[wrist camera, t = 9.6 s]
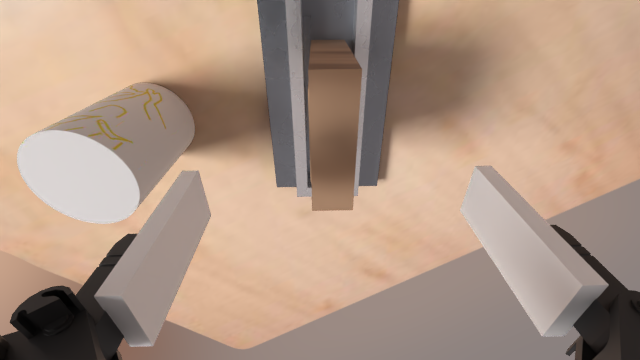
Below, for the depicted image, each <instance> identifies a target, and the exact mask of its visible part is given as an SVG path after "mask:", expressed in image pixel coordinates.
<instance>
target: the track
mask: <svg viewBox="0 0 640 360" xmlns="http://www.w3.org/2000/svg"><path fill="white" fill-rule="evenodd" d="M257 4H258V14H259V23H260V32H261V42H262V51H263V60H264V70H265V79H266V89H267V98H268V107H269V117H270V126H271V136H272V145H273V154H274V164H275V173H276V183H277V187H297V197H302V196H312V184H311V177H310V143H309V110H308V82H309V77H308V67H309V57H310V46H311V40H345V42H346V43H347V45H348V47H349V48H350V50H351V51H352V53H353V55H354V56H355V58H356V60H357V61H358V63H359V64H360V66H361V68H362V80H361V95H360V110H359V124H358V139H357V154H356V168H355V183H354V196H358V186H377V180H378V172H379V163H380V155H381V146H382V138H383V130H384V121H385V113H386V104H387V96H388V88H389V79H390V71H391V62H392V54H393V46H394V37H395V29H396V20H397V12H398V4H399V0H257Z"/></svg>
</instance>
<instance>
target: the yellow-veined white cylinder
mask: <svg viewBox="0 0 640 360" xmlns="http://www.w3.org/2000/svg"><path fill="white" fill-rule="evenodd" d="M194 134H195V124H194V119H193V116H192V114H191V112H190V110H189V108H188V107H187V105H186V104H185V103H184V102H183V101H182V100H181V99H180V98H179V97H178V96H177V95H176V94H174V93H173V92H172V91H170V90H168V89H166V88H164V87H162V86H159V85H156V84H152V83H137V84H133V85H130V86H128V87H126V88H124V89H122V90H120V91H118V92H116V93H114V94H112V95H110V96H108V97H106V98H104V99H102V100H100V101H98V102H96V103H94V104H92V105H90V106H88V107H86V108H84V109H82V110H80V111H78V112H76V113H74V114H72V115H70V116H68V117H67V118H65V119H63V120H61V121H59V122H57V123H55V124H53V125H51V126H49V127H47V128H45V129H43V130H41V131H39V132H37V133H35V134H33V135H31V136H29V137H28V138H26V139H25V140H24V141H23V142H22V144H21V145H20V147H19V150H18V153H17V163H18V168H19V171H20V173H21V176H22V178H23V179H24V181H25V183H26V184H27V185H28V187H29V188H30V189H31V190H32V191H33V192H34V194H36V195H37V196H38V197H39V198H40V199H41V200H42V201H43V202H45V203H46V204H47V205H49V206H50V207H52V208H53V209H55V210H57V211H59V212H61V213H63V214H65V215H67V216H69V217H72V218H74V219H78V220H81V221H85V222H90V223H99V224H107V223H115V222H119V221H121V220H124V219H126V218H128V217H129V216H130V215H131V214H133V212H134V211H135V210H136V209H137V208H138V206H139V205H140V204H141V203H142V202H143V200H144V199H145V198H146V197H147V196H148V194H149V193H150V192H151V191H152V190H153V188H154V187H155V186H156V185H157V184H158V182H159V181H160V180H161V179H162V177H163V176H164V175H165V174H166V173H167V171H168V170H169V169H170V168H171V167H172V165H173V164H174V163H175V162H176V161H177V159H178V158H179V157H180V156H181V155H182V153H183V152H184V151H185V150H186V148H187V147H188V146H189V145H190V144H191V142H192V140H193V138H194Z"/></svg>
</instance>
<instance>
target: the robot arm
mask: <svg viewBox="0 0 640 360" xmlns="http://www.w3.org/2000/svg"><path fill="white" fill-rule="evenodd" d="M460 211H461V213H462V214H463V216H464V217H465V219H466V220H467V222H468V224H469V225H470V227H471V228H472V230H473V231H474V233H475V234H476V236H477V237H478V239H479V240H480V242H481V243H482V245H483V246H484V248H485V249H486V251H487V253H488V254H489V256H490V257H491V259H492V260H493V262H494V263H495V265H496V266H497V268H498V269H499V271H500V272H501V274H502V276H503V277H504V279H505V280H506V282H507V283H508V285H509V286H510V288H511V289H512V291H513V292H514V294H515V295H516V297H517V298H518V300H519V302H520V303H521V305H522V306H523V308H524V309H525V311H526V312H527V314H528V315H529V317H530V318H531V320H532V321H533V323H534V325H535V326H536V328H537V329H538V331H539V332H540V334H541V335H542V336H565V335H566V334H567V333H568V331H569V330H570V329H571V328H572V327H573V326H574V327H575V328H576V330H577V331H578V332H579V333H580V337H579V338H578V339H577V340H576V341H575V342H574V343H573V344H572V345H571V346H570V347H569V348H568V350H567V352H566V354H567V355H569V356H570V355H571V354H572V353H573V352H574V351H576V353H575V360H640V292H637V291H630V290H628V289H627V288H625V286H624V285H622V284H621V283H620V282H619V281H618V280H617V279H616V278H615V277H614V276H613V275H612V274H611V273H610V272H609V271H608V270H607V269H606V268H605V267H604V266H603V265H602V264H601V263H600V262H599V261H598V260H597V259H596V258H595V257H593V256H591V255H590V253H589V252H588V251H587V250H586V249H585V248H584V247H582V246H581V244H580V243H579V242H578V241H577V240H576V239H575V238H574V237H573V236H572V235H571V234H569V233H568V232H566V231H565V230H563V229H561V228H560V227H558V226H556V225H549V224H548V223H547V222H546V221H545V220H544V219H543V218H542V217H541V216H540V215H539V214H538V213H537V212H536V211H535V210H534V209H533V208H532V207H531V206H530V205H529V204H528V203H527V202H526V201H525V199H524V198H523V197H522V196H521V195H520V194H519V193H518V192H517V191H516V190H515V189H514V188H513V187H512V186H511V185H510V184H509V183H508V182H507V181H506V180H505V179H504V178H503V177H502V176H501V175H500V174H499V173H498V172H497V171H496V170H495V169H494V168H493V167H492V166H475V168H474V171H473V174H472V177H471V180H470V183H469V186H468V189H467V192H466V195H465V198H464V201H463V203H462V206H461V209H460ZM210 217H211V213H210V209H209V206H208V202H207V199H206V195H205V192H204V188H203V185H202V181H201V178H200V174H199V171H182V172H181V173H180V175H179V176H178V178H177V179H176V180H175V182H174V183H173V185H172V186H171V187H170V189H169V190H168V192H167V193H166V195H165V196H164V197H163V199H162V200H161V202H160V203H159V205H158V206H157V207H156V209H155V210H154V212H153V213H152V214H151V216H150V217H149V219H148V220H147V222H146V223H145V224H144V226H143V227H142V229H141V230H140V231H139V233H138V234H127V235H126V236H125V237H123V238H122V239H121V240H120V241H118V242H117V243H116V244H115V245H114V246H113V247H112V249H111V250H110V251H109V253H108V254H107V257H105V258H104V259H103V260H102V262H101V263H100V264H99V267H97V268H96V270H95V271H94V272H93V273H92V275H91V276H90V277H89V279H88V280H87V281H86V283H85V284H84V285H83V287H82V288H81V289H80V290H79V292H78V293H77V294H76V296H75V295H74V294H73V292H72V291H71V289H70V288H69V287H65V286H55V287H50V288H48V289H45V290H42V291H40V292H38V293H36V294H34V295H33V296H31V297H29V298H28V299H27V300H26V301H25V302H23V303H22V304H21V305H20V306H19V307H18V308H17V309H16V310H15V312H14V313H13V314H12V317H11V320H10V323H11V324H12V325H13V326H14V327H15V328H16V329H17V330H18V331H17V332H14V333H11V334H7V335H4V336H1V335H0V360H122V357H121V354H120V352H119V351H118V347H119V345H120V343H121V341H122V339H123V338H124V339H125V340H126V341H127V343H128V344H129V345H130V347H131V346H153V345H154V343H155V341H156V339H157V336H158V334H159V332H160V330H161V328H162V325H163V323H164V321H165V319H166V316H167V314H168V312H169V309H170V307H171V305H172V303H173V300H174V298H175V296H176V294H177V291H178V289H179V287H180V285H181V282H182V280H183V278H184V276H185V273H186V271H187V269H188V267H189V264H190V262H191V260H192V258H193V255H194V253H195V251H196V248H197V246H198V244H199V242H200V239H201V237H202V235H203V233H204V230H205V228H206V226H207V224H208V221H209V219H210Z"/></svg>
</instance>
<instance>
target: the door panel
mask: <svg viewBox="0 0 640 360" xmlns="http://www.w3.org/2000/svg"><path fill="white" fill-rule="evenodd" d="M308 77H309V82H308V110H309V143H310V177H311V184H312V211H324V210H353V198H354V183H355V168H356V154H357V139H358V124H359V110H360V95H361V80H362V68H361V66H360V64H359V63H358V61H357V60H356V58H355V56H354V55H353V53H352V51H351V50H350V48H349V47H348V45H347V43H346V42H345V40H311V46H310V57H309V67H308Z"/></svg>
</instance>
